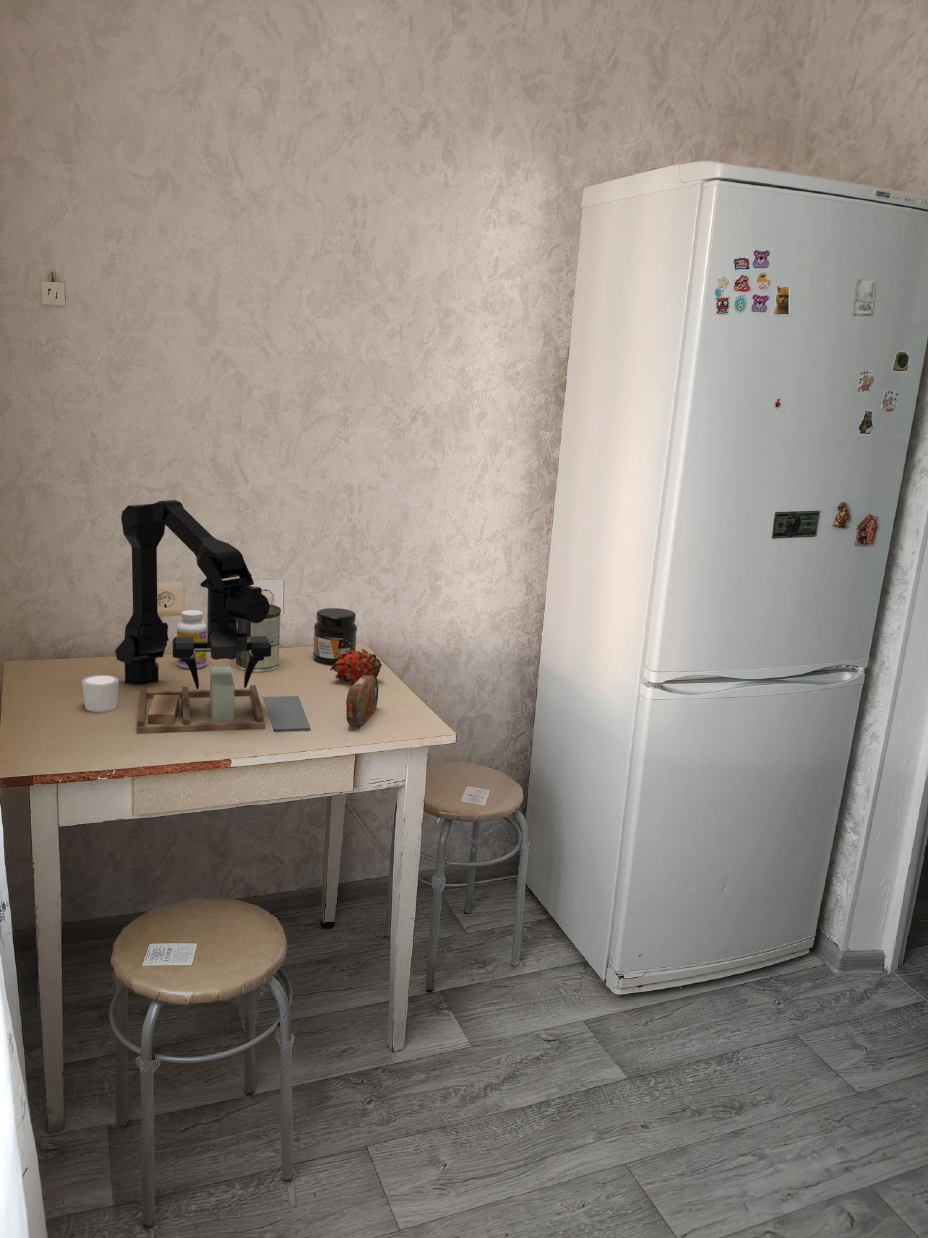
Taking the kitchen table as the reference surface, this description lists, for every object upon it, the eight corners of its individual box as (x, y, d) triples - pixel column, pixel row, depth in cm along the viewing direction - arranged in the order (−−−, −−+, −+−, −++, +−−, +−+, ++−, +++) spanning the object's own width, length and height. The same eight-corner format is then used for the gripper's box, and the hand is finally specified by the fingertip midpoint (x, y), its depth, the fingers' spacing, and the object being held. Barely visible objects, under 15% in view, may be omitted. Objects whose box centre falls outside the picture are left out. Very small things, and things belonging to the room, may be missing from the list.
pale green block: (212, 729, 185) (212, 686, 182) (210, 708, 196) (210, 666, 194) (233, 729, 186) (234, 685, 184) (229, 707, 197) (230, 666, 195)
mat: (267, 731, 185) (267, 729, 185) (258, 699, 203) (258, 696, 203) (310, 730, 188) (310, 728, 188) (298, 698, 205) (298, 695, 205)
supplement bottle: (201, 670, 218) (202, 617, 215) (173, 668, 218) (173, 614, 215) (209, 662, 225) (210, 610, 222) (182, 660, 225) (182, 607, 222)
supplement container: (319, 667, 228) (321, 619, 225) (307, 654, 237) (309, 608, 234) (361, 664, 232) (363, 617, 229) (348, 652, 241) (350, 606, 238)
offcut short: (148, 724, 181) (148, 714, 181) (154, 704, 192) (154, 695, 191) (174, 724, 182) (174, 714, 182) (179, 704, 193) (179, 695, 192)
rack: (137, 740, 177) (137, 722, 176) (140, 702, 196) (140, 686, 195) (265, 735, 184) (265, 718, 183) (256, 699, 202) (256, 684, 202)
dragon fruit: (385, 689, 220) (333, 697, 217) (378, 660, 225) (327, 667, 222) (385, 668, 213) (332, 676, 211) (378, 638, 218) (326, 646, 216)
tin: (357, 732, 189) (359, 692, 187) (342, 730, 190) (344, 690, 187) (378, 708, 203) (381, 671, 201) (364, 706, 204) (366, 669, 202)
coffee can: (228, 669, 221) (229, 611, 217) (244, 657, 231) (245, 601, 227) (271, 674, 220) (272, 615, 216) (285, 662, 229) (286, 605, 226)
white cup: (126, 711, 191) (126, 678, 189) (103, 721, 184) (103, 687, 183) (98, 704, 193) (98, 672, 191) (74, 715, 186) (74, 681, 185)
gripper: (172, 623, 175) (172, 703, 179) (275, 623, 181) (272, 700, 185) (172, 608, 185) (172, 684, 189) (269, 608, 191) (267, 682, 195)
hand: (221, 688), depth 189 cm, fingers open, 9 cm apart
